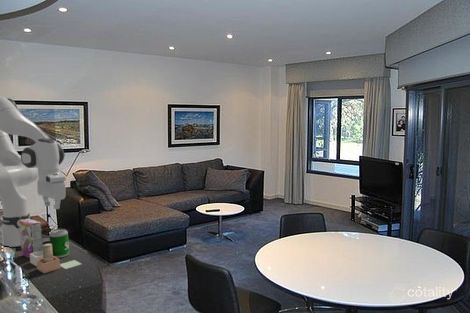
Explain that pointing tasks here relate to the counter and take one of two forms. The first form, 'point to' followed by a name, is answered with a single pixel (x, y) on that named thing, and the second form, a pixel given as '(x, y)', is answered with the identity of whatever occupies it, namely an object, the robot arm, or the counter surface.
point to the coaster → (70, 264)
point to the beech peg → (47, 253)
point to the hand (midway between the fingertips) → (52, 207)
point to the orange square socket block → (48, 265)
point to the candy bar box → (30, 236)
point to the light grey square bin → (36, 257)
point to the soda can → (59, 243)
